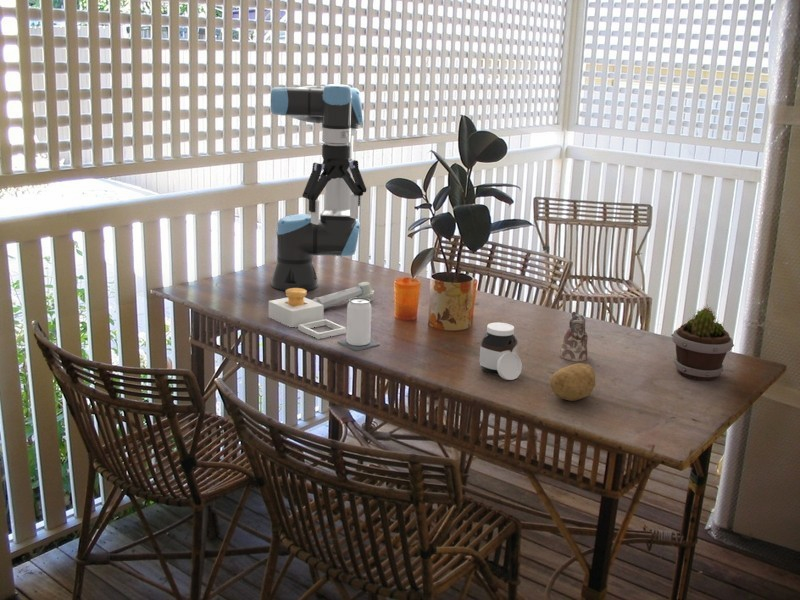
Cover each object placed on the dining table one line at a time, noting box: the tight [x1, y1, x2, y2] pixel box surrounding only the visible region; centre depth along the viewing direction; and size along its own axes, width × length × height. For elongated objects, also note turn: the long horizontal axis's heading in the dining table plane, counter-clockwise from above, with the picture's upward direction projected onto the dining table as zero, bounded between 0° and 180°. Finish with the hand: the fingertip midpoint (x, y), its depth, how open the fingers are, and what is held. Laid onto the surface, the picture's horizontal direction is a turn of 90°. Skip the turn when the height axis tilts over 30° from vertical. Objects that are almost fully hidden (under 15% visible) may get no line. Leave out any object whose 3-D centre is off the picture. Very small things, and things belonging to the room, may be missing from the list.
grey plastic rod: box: [312, 281, 375, 310], centre depth 271 cm, size 5×7×25 cm
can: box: [345, 297, 372, 346], centre depth 237 cm, size 6×6×12 cm
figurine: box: [559, 311, 589, 362], centre depth 235 cm, size 7×7×12 cm
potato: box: [550, 362, 596, 402], centre depth 208 cm, size 10×14×8 cm
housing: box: [268, 296, 347, 340], centre depth 252 cm, size 11×24×5 cm, turn 41°
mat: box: [337, 339, 380, 352], centre depth 239 cm, size 8×8×1 cm
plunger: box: [285, 288, 308, 306], centre depth 255 cm, size 6×6×8 cm
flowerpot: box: [670, 303, 735, 381], centre depth 225 cm, size 14×15×20 cm
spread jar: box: [479, 322, 523, 381], centre depth 221 cm, size 12×11×12 cm
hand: (334, 220), depth 243 cm, fingers open, 13 cm apart
